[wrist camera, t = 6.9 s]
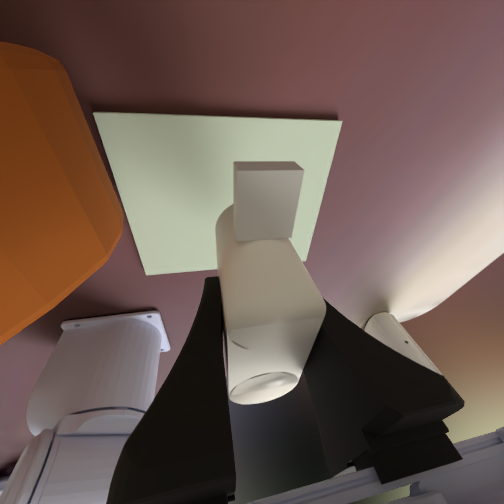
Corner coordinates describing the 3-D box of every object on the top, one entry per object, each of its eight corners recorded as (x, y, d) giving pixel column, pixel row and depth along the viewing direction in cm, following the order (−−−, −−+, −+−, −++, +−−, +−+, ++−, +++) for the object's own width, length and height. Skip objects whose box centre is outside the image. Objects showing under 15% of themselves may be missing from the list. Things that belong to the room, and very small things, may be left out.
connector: (219, 313, 15) (229, 409, 11) (210, 143, 9) (223, 210, 4) (265, 308, 16) (291, 396, 11) (288, 144, 9) (370, 204, 5)
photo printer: (368, 314, 34) (433, 405, 25) (393, 308, 35) (467, 396, 25) (353, 347, 41) (401, 430, 31) (375, 342, 41) (428, 422, 32)
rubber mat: (147, 271, 21) (146, 275, 21) (95, 111, 13) (93, 112, 13) (304, 258, 24) (305, 260, 24) (338, 120, 16) (342, 121, 16)
